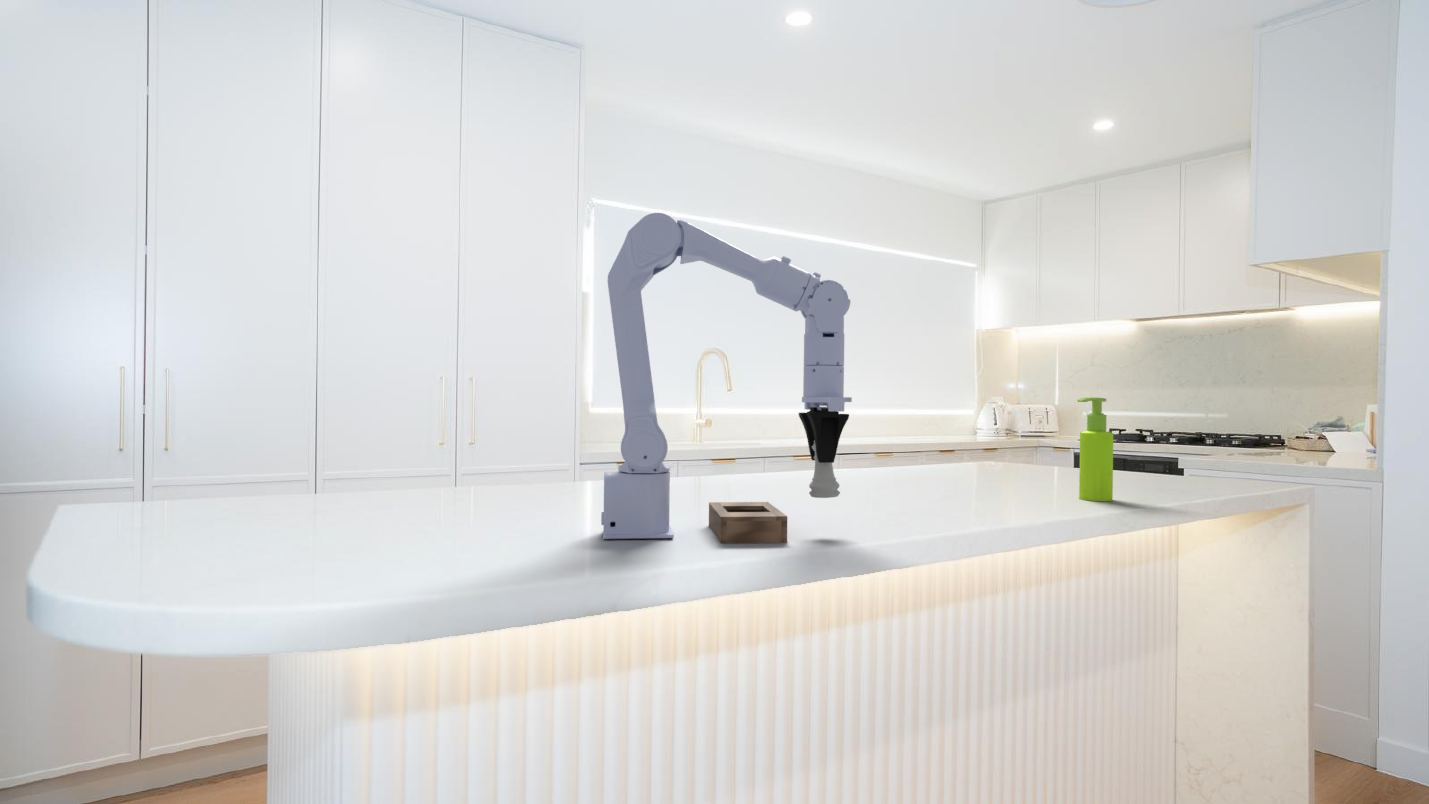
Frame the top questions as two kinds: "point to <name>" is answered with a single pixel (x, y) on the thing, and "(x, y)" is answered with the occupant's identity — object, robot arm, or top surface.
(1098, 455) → the soap dispenser
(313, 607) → the top surface
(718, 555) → the top surface
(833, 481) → the rook chess piece
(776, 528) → the brown wooden hollow block
